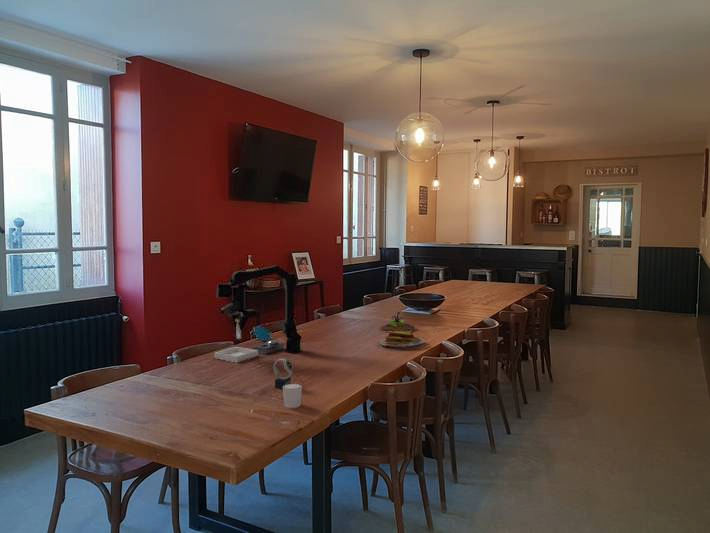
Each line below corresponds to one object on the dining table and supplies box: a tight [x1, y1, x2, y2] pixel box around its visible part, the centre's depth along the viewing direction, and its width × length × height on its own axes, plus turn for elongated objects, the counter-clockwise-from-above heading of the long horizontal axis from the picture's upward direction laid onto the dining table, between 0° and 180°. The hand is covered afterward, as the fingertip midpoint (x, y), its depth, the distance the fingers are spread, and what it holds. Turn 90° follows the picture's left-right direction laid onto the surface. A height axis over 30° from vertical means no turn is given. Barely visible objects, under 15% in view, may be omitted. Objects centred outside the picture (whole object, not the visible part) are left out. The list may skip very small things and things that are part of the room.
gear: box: [253, 325, 272, 342], centre depth 299 cm, size 11×6×10 cm
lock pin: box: [235, 318, 242, 340], centre depth 261 cm, size 4×4×10 cm
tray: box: [213, 346, 259, 364], centre depth 260 cm, size 15×15×3 cm
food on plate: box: [378, 331, 426, 349], centre depth 288 cm, size 25×25×7 cm
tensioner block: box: [252, 339, 285, 355], centre depth 274 cm, size 8×14×4 cm, turn 149°
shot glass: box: [282, 383, 303, 409], centre depth 192 cm, size 7×7×7 cm
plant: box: [379, 311, 416, 332], centre depth 328 cm, size 20×20×11 cm
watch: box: [272, 358, 294, 390], centre depth 215 cm, size 6×8×11 cm
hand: (238, 329), depth 261 cm, fingers closed on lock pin, 3 cm apart
